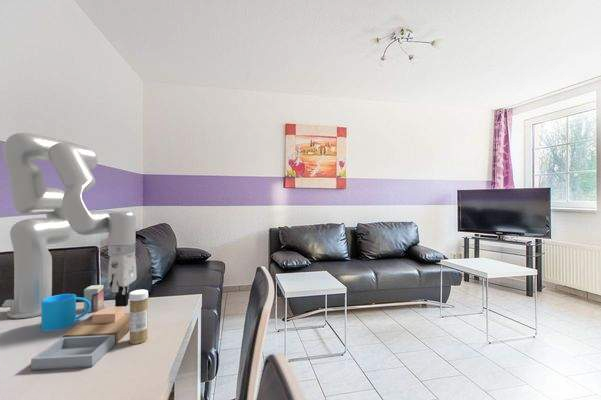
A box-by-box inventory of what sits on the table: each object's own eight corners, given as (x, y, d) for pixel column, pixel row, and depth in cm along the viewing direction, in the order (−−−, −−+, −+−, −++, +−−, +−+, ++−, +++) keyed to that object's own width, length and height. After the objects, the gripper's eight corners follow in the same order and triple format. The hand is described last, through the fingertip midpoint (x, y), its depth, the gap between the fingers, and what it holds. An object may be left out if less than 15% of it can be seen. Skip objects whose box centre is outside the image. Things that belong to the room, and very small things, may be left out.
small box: (97, 311, 101) (97, 288, 101) (83, 312, 100) (83, 289, 100) (104, 306, 105) (104, 284, 105) (90, 307, 104) (90, 285, 104)
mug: (41, 333, 84) (41, 304, 84) (41, 324, 90) (41, 297, 90) (92, 321, 92) (92, 295, 92) (88, 314, 98) (89, 289, 98)
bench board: (62, 346, 77) (62, 335, 77) (93, 324, 90) (93, 314, 90) (116, 344, 78) (116, 332, 78) (138, 322, 92) (138, 312, 92)
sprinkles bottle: (148, 335, 83) (148, 288, 83) (147, 342, 79) (148, 292, 79) (129, 338, 81) (129, 290, 81) (128, 346, 77) (128, 295, 77)
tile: (92, 323, 84) (92, 314, 84) (103, 315, 90) (103, 307, 90) (115, 322, 85) (115, 313, 85) (124, 314, 91) (124, 306, 91)
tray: (31, 370, 66) (31, 359, 66) (62, 347, 76) (62, 337, 76) (92, 367, 68) (92, 355, 68) (114, 344, 78) (115, 334, 78)
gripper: (124, 253, 88) (123, 314, 88) (143, 245, 103) (143, 298, 103) (96, 254, 87) (96, 315, 87) (120, 246, 102) (120, 298, 102)
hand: (121, 306), depth 95 cm, fingers closed
